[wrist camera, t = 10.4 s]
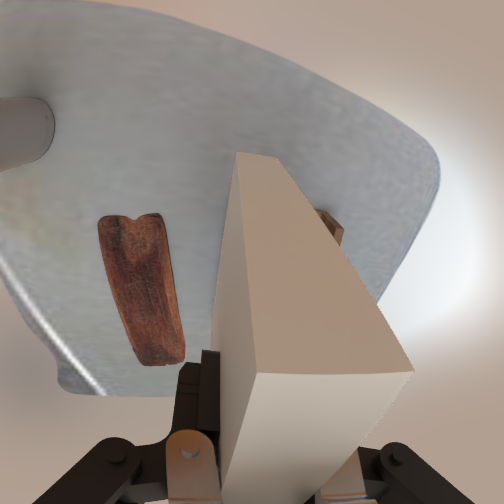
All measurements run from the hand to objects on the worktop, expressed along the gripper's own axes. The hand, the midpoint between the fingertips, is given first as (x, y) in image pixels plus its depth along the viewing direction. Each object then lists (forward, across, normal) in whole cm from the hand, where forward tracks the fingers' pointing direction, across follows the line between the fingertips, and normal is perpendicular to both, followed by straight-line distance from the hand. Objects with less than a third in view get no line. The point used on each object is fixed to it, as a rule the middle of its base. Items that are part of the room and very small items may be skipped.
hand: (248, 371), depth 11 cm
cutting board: (+11, 0, -1) cm, 11 cm away
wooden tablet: (+32, +11, +18) cm, 38 cm away
